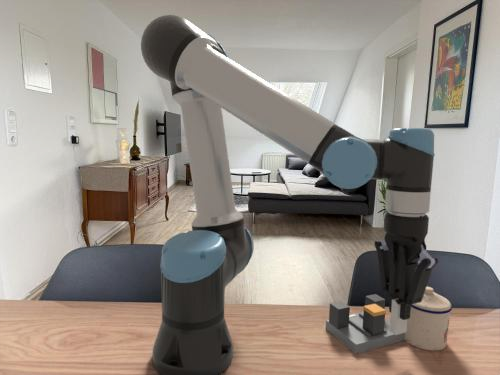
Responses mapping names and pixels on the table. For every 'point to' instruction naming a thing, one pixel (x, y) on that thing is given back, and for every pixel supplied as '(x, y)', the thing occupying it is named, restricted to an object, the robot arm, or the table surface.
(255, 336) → the table surface
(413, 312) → the teacup with lid
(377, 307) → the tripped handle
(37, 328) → the table surface
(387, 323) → the panel
